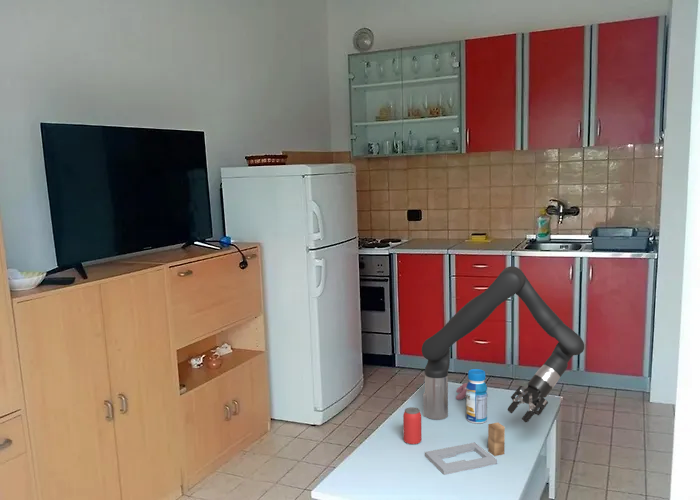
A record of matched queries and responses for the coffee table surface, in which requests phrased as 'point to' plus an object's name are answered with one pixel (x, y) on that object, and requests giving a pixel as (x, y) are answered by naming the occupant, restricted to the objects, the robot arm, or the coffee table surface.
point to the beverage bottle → (476, 397)
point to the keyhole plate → (461, 465)
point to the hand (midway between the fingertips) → (516, 416)
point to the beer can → (412, 425)
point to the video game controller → (461, 391)
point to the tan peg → (496, 439)
